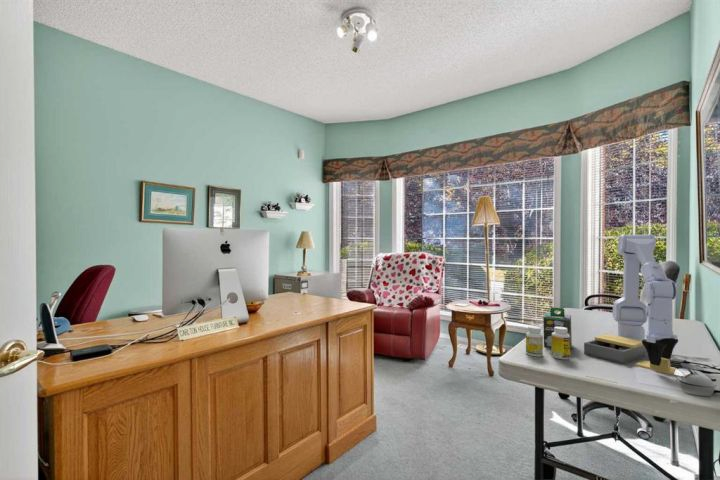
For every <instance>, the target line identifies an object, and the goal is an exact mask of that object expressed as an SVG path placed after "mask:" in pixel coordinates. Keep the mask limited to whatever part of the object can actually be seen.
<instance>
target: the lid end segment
mask: <svg viewBox="0 0 720 480" xmlns="http://www.w3.org/2000/svg"><path fill="white" fill-rule="evenodd" d="M634 366H636V367H639V368H644V369H647V368H648V370H651V369H652V371H655V370H656V371H655V372H660V373H664V374H667V375H671V376H675V375H674V372H675V370H676V369H677V367H673V366H671V359H666V358H661V363H660V365H659V366H657V365H653V364H651V363H650V360H645V359H644V360H641V361H639V362H636V363H634Z"/></svg>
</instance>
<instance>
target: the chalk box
mask: <svg viewBox="0 0 720 480" xmlns="http://www.w3.org/2000/svg"><path fill="white" fill-rule="evenodd" d="M556 311H558V312H560V313H556ZM542 319H543V320H542V321H543V347H547V348H548V347H549V348H552V333H553V332H554V327H565V328H567V330H568V333H567V334H569V335H570V351H571V350H572V343H573V342H572V341H573V339H572V336H573V335H572V315H570V314H565V309H564V308H563V307H554V306H553V307H550V313H547V312H546V313H545V314H544V316H543V318H542Z"/></svg>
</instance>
